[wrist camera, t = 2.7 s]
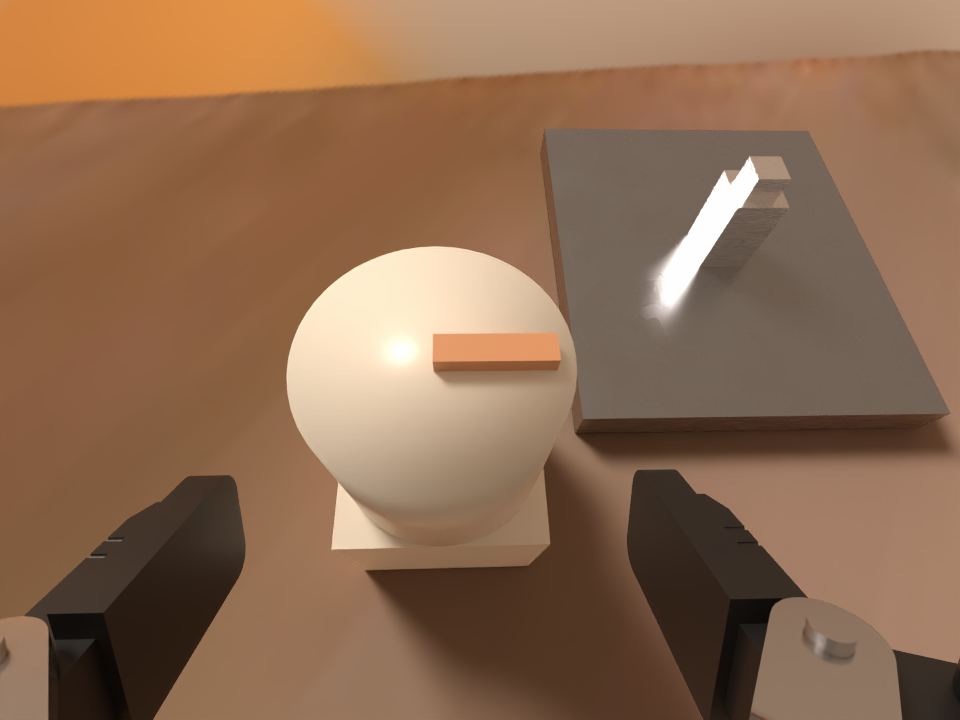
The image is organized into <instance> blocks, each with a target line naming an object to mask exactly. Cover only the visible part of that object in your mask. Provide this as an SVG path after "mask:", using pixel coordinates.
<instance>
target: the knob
mask: <svg viewBox="0 0 960 720" xmlns="http://www.w3.org/2000/svg"><path fill="white" fill-rule="evenodd" d="M576 380H577V363H576V353H575V349H574V344H573V340H572V337H571V334H570V331H569V329H568V326H567V324H566V322H565V320H564V318H563V316H562V314H561V312H560V311H559V309H558V308H557V306H556V305H555V304H554V302H553V301H552V299H551V298H550V297H549V296H548V295H547V294H546V293H545V291H544V290H543V289H542V288H541V287H540V286H539V285H538V284H536V283H535V282H534V281H533V280H532V279H530V278H529V277H528V276H527V275H525V274H524V273H522V272H521V271H519V270H518V269H516V268H515V267H513V266H511V265H509V264H507V263H505V262H503V261H501V260H499V259H496V258H494V257H491V256H488V255H486V254H483V253H479V252H475V251H471V250H466V249H460V248H453V247H418V248H412V249H405V250H400V251H397V252H393V253H389V254H385V255H383V256H380V257H377V258H375V259H372V260H370V261H368V262H366V263H364V264H362V265H360V266H358V267H356V268H354V269H353V270H351V271H349V272H348V273H346V274H345V275H343V276H342V277H340V278H339V279H338V280H337V281H336V282H334V283H333V284H332V285H331V286H329V287H328V288H327V289H326V290H325V291H324V292H323V293H322V295H321V296H320V297H319V298H318V299H317V300H316V301H315V302H314V304H313V305H312V306H311V308H310V309H309V310H308V312H307V313H306V315H305V317H304V318H303V320H302V322H301V324H300V325H299V327H298V330H297V332H296V335H295V337H294V340H293V342H292V346H291V350H290V354H289V358H288V366H287V394H288V398H289V403H290V408H291V412H292V414H293V417H294V420H295V422H296V425H297V427H298V429H299V431H300V433H301V434H302V436H303V438H304V440H305V441H306V443H307V445H308V446H309V447H310V448H311V450H312V451H313V452H314V453H315V455H316V456H317V457H318V458H319V459H320V461H321V462H322V463H323V464H324V465H325V467H326V468H327V469H328V470H329V471H330V473H331V474H332V475H333V476H334V477H335V479H336V480H337V481H338V491H337V501H336V510H335V520H334V529H333V539H332V548H331V550H333V551H335V552H336V553H338V554H339V555H341V556H343V557H344V558H346V559H348V560H349V561H351V562H352V563H354V564H356V565H357V566H359V567H361V568H362V569H364V570H392V569H430V568H468V567H505V566H529V565H530V564H531V563H532V562H533V561H534V560H535V559H536V558H537V557H538V556H539V555H540V554H541V553H542V552H543V551H544V550H545V549H546V548H547V547H548V546H549V545H550V534H549V523H548V512H547V500H546V489H545V478H544V465H545V462H546V460H547V458H548V456H549V454H550V452H551V450H552V448H553V446H554V444H555V442H556V440H557V438H558V436H559V434H560V432H561V430H562V428H563V426H564V424H565V422H566V419H567V417H568V414H569V412H570V409H571V407H572V403H573V399H574V395H575V390H576Z"/></svg>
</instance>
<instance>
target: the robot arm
mask: <svg viewBox="0 0 960 720" xmlns="http://www.w3.org/2000/svg"><path fill="white" fill-rule="evenodd" d="M627 547H628V555H629V560H630V564H631V567H632V569H633V572H634V574H635V576H636V578H637V580H638V582H639V584H640V586H641V589H642V591H643V593H644V595H645V597H646V599H647V601H648V603H649V605H650V608H651V610H652V612H653V614H654V616H655V618H656V620H657V622H658V624H659V626H660V629H661V631H662V633H663V635H664V637H665V639H666V641H667V643H668V645H669V648H670V650H671V652H672V654H673V656H674V658H675V660H676V662H677V664H678V667H679V669H680V671H681V673H682V675H683V677H684V679H685V681H686V683H687V685H688V688H689V690H690V692H691V694H692V696H693V698H694V700H695V702H696V704H697V707H698V709H699V711H700V713H701V715H702V717H703V719H704V720H960V659H959V662H958V664H956V663H951V662H947V661H942V660H938V659H933V658H928V657H924V656H919V655H915V654H910V653H906V652H901V651H897V650H893V649H891V647H890V645H889V644H888V643H887V641H886V640H885V639H884V638H883V637H882V636H881V635H880V633H879V632H877V631H876V630H875V629H874V628H873V627H872V626H871V625H869V624H868V623H866V622H865V621H864V620H862V619H861V618H859V617H857V616H856V615H854V614H852V613H851V612H849V611H847V610H845V609H843V608H840V607H838V606H836V605H833V604H830V603H827V602H824V601H821V600H816V599H812V598H808V597H807V596H806V595H805V594H804V593H803V592H802V591H801V590H800V588H799V587H798V586H797V585H796V584H795V583H794V582H793V581H792V579H791V578H790V577H789V576H788V575H787V574H786V573H785V572H784V570H783V569H782V568H781V567H780V566H779V565H778V564H777V563H776V561H775V560H774V559H773V558H772V557H771V556H770V555H769V554H768V553H767V551H766V550H765V549H764V548H763V547H762V546H759V545H758V541H757V540H756V539H755V538H754V537H753V536H752V535H751V533H750V532H749V531H748V530H745V529H744V526H743V524H742V523H741V522H740V521H739V520H738V519H737V518H736V517H735V515H734V514H733V513H732V512H731V511H730V510H729V509H728V508H727V507H725V506H723V505H722V504H720V503H719V502H717V501H715V500H714V499H712V498H711V497H709V496H707V495H706V494H696V493H695V491H694V490H693V489H692V488H691V487H690V485H689V484H688V483H687V482H686V481H685V479H684V478H683V477H682V476H681V475H680V473H679V472H678V471H676V470H637V471H636V473H635V475H634V478H633V485H632V494H631V504H630V514H629V524H628V534H627ZM244 559H245V538H244V531H243V525H242V518H241V512H240V505H239V499H238V492H237V486H236V483H235V480H234V479H233V478H232V477H231V476H229V475H220V476H189V477H187V478H185V479H184V480H183V481H182V482H181V483H180V484H179V485H178V486H177V487H176V488H175V489H174V490H173V491H172V492H171V493H170V494H169V495H168V496H167V497H166V498H165V499H164V500H163V501H162V502H156V503H155V504H153V505H151V506H149V507H148V508H146V509H144V510H143V511H141V512H139V513H137V514H136V515H134V516H132V517H130V518H129V519H127V520H126V521H125V522H124V523H123V524H122V525H121V526H120V527H119V528H118V529H117V530H116V531H115V532H114V533H112V534H111V535H110V536H109V537H108V541H104V542H103V543H102V544H101V545H100V546H99V547H97V548H96V549H95V550H94V551H93V552H92V553H91V556H90V558H86V559H85V560H83V561H82V562H81V563H80V564H79V565H78V566H77V567H76V568H75V569H74V570H73V571H72V572H71V573H70V574H68V575H67V576H66V577H65V578H64V579H63V580H62V581H61V582H60V583H59V584H58V585H57V586H56V587H55V588H53V589H52V590H51V591H50V592H49V593H48V594H47V595H46V596H45V597H44V598H43V599H42V600H41V601H40V602H38V603H37V604H36V605H35V606H34V607H33V608H32V609H31V610H30V611H29V612H28V613H27V614H26V615H24V616H20V617H11V618H5V619H1V620H0V720H153V718H154V717H155V715H156V713H157V712H158V710H159V708H160V707H161V705H162V703H163V702H164V700H165V699H166V697H167V695H168V694H169V692H170V690H171V689H172V687H173V685H174V684H175V682H176V680H177V679H178V677H179V675H180V674H181V672H182V670H183V669H184V667H185V665H186V664H187V662H188V660H189V659H190V657H191V655H192V654H193V652H194V650H195V649H196V647H197V645H198V644H199V642H200V641H201V639H202V637H203V636H204V634H205V632H206V631H207V629H208V627H209V626H210V624H211V622H212V621H213V619H214V617H215V616H216V614H217V612H218V611H219V609H220V607H221V606H222V604H223V602H224V601H225V599H226V597H227V596H228V594H229V592H230V591H231V589H232V587H233V586H234V584H235V583H236V581H237V579H238V577H239V576H240V573H241V571H242V568H243V564H244Z"/></svg>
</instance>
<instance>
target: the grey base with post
mask: <svg viewBox="0 0 960 720" xmlns="http://www.w3.org/2000/svg"><path fill="white" fill-rule="evenodd" d="M541 161H542V169H543V177H544V185H545V193H546V201H547V210H548V218H549V226H550V234H551V242H552V250H553V258H554V266H555V275H556V283H557V291H558V299H559V307H560V312H561V314H562V316H563V318H564V320H565V322H566V324H567V326H568V329H569V331H570V334H571V337H572V340H573V344H574V349H575V353H576V363H577V380H576V390H575V395H574V399H573V403H572V413H573V421H574V429H575V433H612V432H675V431H739V430H802V429H865V428H919V427H921V426H924V425H926V424H928V423H930V422H933V421H935V420H937V419H939V418H942V417H944V416H946V415H948V414H950V412H949V410H948V408H947V406H946V404H945V402H944V400H943V398H942V396H941V394H940V392H939V390H938V388H937V386H936V384H935V382H934V380H933V378H932V376H931V374H930V372H929V370H928V368H927V366H926V364H925V362H924V360H923V358H922V356H921V354H920V352H919V350H918V348H917V346H916V344H915V342H914V340H913V338H912V336H911V334H910V332H909V330H908V328H907V326H906V324H905V322H904V320H903V318H902V316H901V314H900V312H899V310H898V308H897V306H896V304H895V302H894V301H893V299H892V297H891V295H890V293H889V291H888V289H887V287H886V285H885V283H884V281H883V279H882V277H881V275H880V273H879V271H878V269H877V267H876V265H875V263H874V261H873V259H872V257H871V255H870V253H869V251H868V249H867V247H866V245H865V243H864V241H863V239H862V237H861V235H860V233H859V231H858V229H857V227H856V225H855V223H854V221H853V219H852V217H851V215H850V213H849V211H848V209H847V207H846V205H845V203H844V201H843V199H842V197H841V195H840V193H839V191H838V189H837V187H836V185H835V183H834V181H833V179H832V177H831V175H830V173H829V171H828V169H827V167H826V165H825V163H824V161H823V159H822V158H821V156H820V154H819V152H818V150H817V148H816V146H815V144H814V142H813V140H812V138H811V136H810V134H809V132H808V131H731V130H616V129H544V135H543V141H542V147H541Z"/></svg>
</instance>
